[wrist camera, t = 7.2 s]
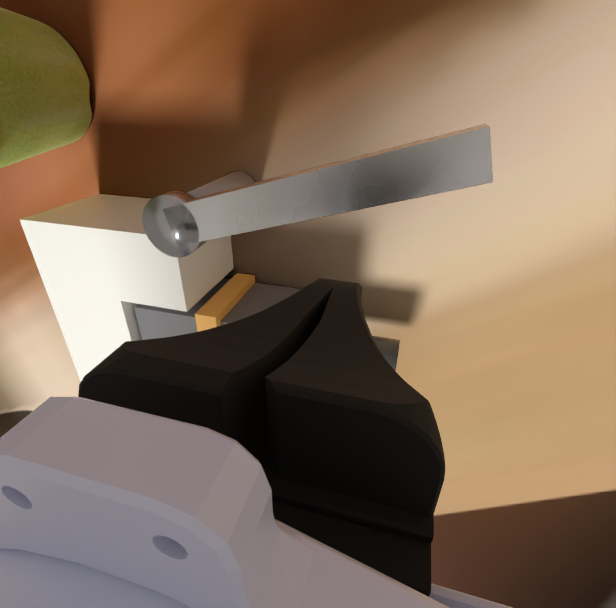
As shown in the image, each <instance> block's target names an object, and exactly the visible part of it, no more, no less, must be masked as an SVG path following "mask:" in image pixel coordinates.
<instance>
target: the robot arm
mask: <svg viewBox="0 0 616 608" xmlns="http://www.w3.org/2000/svg"><path fill="white" fill-rule="evenodd" d="M361 293H362V287H361V286H360V284H358V283H351V282H343V281H336V280H328V279H318V280H317V281H315V282H313V283H311V284H310V285H308V286H307V287H305V288H303V289H302V290H300V291H298V292H297V293H295V294H293V295H291V296H290V297H288V298H286V299H284V300H283V301H281V302H279V303H277V304H275V305H273V306H271V307H269V308H267V309H265V310H263V311H261V312H258V313H256V314H254V315H251V316H249V317H246V318H243V319H241V320H238V321H235V322H232V323H228V324H225V325H221V326H218V327H214V328H211V329H207V330H203V331H199V332H194V333H189V334H183V335H178V336H172V337H165V338H156V339H147V340H137V341H126V342H124V343H123V344H122V345H121V346H120V347H118V348H117V349H116V350H115V351H114V352H112V353H111V354H110V355H109V356H108V357H107V358H105V359H104V360H103V361H102V362H101V363H99V364H98V365H97V366H96V367H95V368H93V369H92V370H91V371H90V372H89V373H87V374H86V375H85V376H84V378H83V379H82V381H81V383H80V385H79V397H50V398H49V399H47V400H46V401H45V402H44V403H43V404H41V405H40V406H39V407H38V408H36V409H35V410H34V411H33V412H32V413H30V414H29V415H28V416H27V417H25V418H24V419H23V420H22V421H21V422H19V423H18V424H17V425H16V426H14V427H13V428H12V429H11V430H10V431H8V432H7V433H6V434H5V435H3V436H2V437H1V438H0V608H512V607H508V606H505V605H502V604H498V603H495V602H492V601H488V600H485V599H481V598H478V597H475V596H471V595H468V594H465V593H462V592H458V591H455V590H451V589H448V588H444V587H441V586H438V585H434V584H431V542H432V540H433V534H434V523H433V522H434V521H433V514H434V511H435V507H436V504H437V501H438V498H439V494H440V491H441V488H442V485H443V481H444V475H445V459H444V452H443V447H442V442H441V438H440V433H439V430H438V426H437V423H436V420H435V417H434V414H433V411H432V408H431V405H430V403H429V401H428V400H427V399H426V398H424V397H423V396H422V395H421V394H420V393H418V392H417V391H416V390H415V389H414V388H412V387H411V386H410V385H409V384H407V383H406V382H405V381H404V380H403V379H402V378H401V377H400V376H399V375H398V374H397V373H396V372H395V370H394V369H393V368H392V366H391V365H390V364H389V363H388V361H387V360H386V359H385V357H384V356H383V354H382V353H381V351H380V350H379V348H378V346H377V345H376V343H375V341H374V339H373V337H372V335H371V333H370V330H369V328H368V325H367V323H366V320H365V317H364V313H363V309H362V305H361Z"/></svg>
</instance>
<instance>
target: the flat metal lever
mask: <svg viewBox="0 0 616 608" xmlns="http://www.w3.org/2000/svg"><path fill="white" fill-rule="evenodd" d="M492 182H493V174H492V157H491V139H490V126H488V125H486V124H483V125H479V126H475V127H471V128H467V129H463V130H459V131H455V132H451V133H448V134H444V135H440V136H436V137H432V138H428V139H424V140H420V141H416V142H412V143H408V144H404V145H400V146H397V147H393V148H389V149H385V150H381V151H377V152H373V153H369V154H365V155H361V156H357V157H353V158H349V159H346V160H342V161H338V162H334V163H330V164H326V165H322V166H318V167H314V168H310V169H306V170H302V171H299V172H295V173H291V174H287V175H283V176H279V177H275V178H271V179H267V180H263V181H259V182H255V183H251V184H248V185H244V186H240V187H236V188H232V189H228V190H224V191H220V192H216V193H212V194H208V195H204V196H201V197H197V198H195V197H194V196H193V195H191V194H189V193H187V192H184V191H179V190H174V191H170V192H167V193H165V194H162V195H160V196H157V197H155V198H153V199H151V200H150V201H148V203H147V204H146V205H145V207H144V210H143V214H142V222H143V227H144V230H145V233H146V235H147V237H148V238H149V240H150V241H151V243H152V244H153V245H154V246H155V247H156V248H157V249H158V250H160V251H161V252H162V253H164V254H166V255H168V256H171V257H178V258H180V257H185V256H188V255H190V254H191V253H193V252H194V251H195V250H197V249H198V248H200V247H201V246H203V245H204V244H205V243H206V242H207V240H211V239H216V238H221V237H226V236H231V235H236V234H241V233H246V232H251V231H255V230H260V229H265V228H270V227H275V226H280V225H285V224H290V223H295V222H300V221H305V220H310V219H315V218H319V217H324V216H329V215H334V214H339V213H344V212H349V211H354V210H359V209H364V208H369V207H374V206H379V205H383V204H388V203H393V202H398V201H403V200H408V199H413V198H418V197H423V196H428V195H433V194H438V193H443V192H447V191H452V190H457V189H462V188H467V187H472V186H477V185H482V184H487V183H492Z"/></svg>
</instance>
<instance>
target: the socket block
mask: <svg viewBox="0 0 616 608" xmlns="http://www.w3.org/2000/svg"><path fill="white" fill-rule="evenodd" d="M251 183H255V182H254V180H253V179H252V178H251V177H250V176H249V175H248V174H246V173H244V172H241V171H236V172H233V173H231V174H228V175H226V176H224V177H221V178H219V179H217V180H214V181H212V182H210V183H207V184H205V185H203V186H200V187H198V188H196V189H194V190H191V191H189V192H187V193H189V194H191V195H193V196H194V197H195V198H197V197H201V196H204V195H208V194H212V193H216V192H220V191H224V190H228V189H232V188H236V187H240V186H244V185H248V184H251ZM150 200H151V199H149V198H138V197H127V196H117V195H106V194H97V195H94V196H91V197H88V198H84V199H81V200H78V201H75V202H72V203H69V204H66V205H63V206H60V207H56V208H53V209H50V210H47V211H44V212H41V213H38V214H35V215H32V216H28V217H25V218H22V219H20V222H21V225H22V227H23V230H24V233H25V235H26V238H27V240H28V243H29V246H30V248H31V251H32V254H33V256H34V259H35V262H36V264H37V267H38V270H39V272H40V275H41V277H42V280H43V283H44V285H45V288H46V291H47V293H48V296H49V299H50V301H51V304H52V307H53V309H54V312H55V314H56V317H57V320H58V322H59V325H60V328H61V330H62V333H63V336H64V338H65V341H66V344H67V346H68V349H69V352H70V354H71V357H72V359H73V362H74V365H75V367H76V370H77V373H78V375H79V378H80V381H82V379H83V378H84V376H85V375H86V374H87V373H89V372H90V371H91V370H92V369H93V368H95V367H96V366H97V365H98V364H99V363H101V362H102V361H103V360H104V359H105V358H107V357H108V356H109V355H110V354H111V353H112V352H114V351H115V350H116V349H117V348H118V347H120V346H121V345H122V344H123V343H124V342H126V341H137V340H142V337H141V333H140V329H139V325H138V321H137V317H136V313H135V309H134V307H135V306H136V305H137V304H143V305H149V306H155V307H161V308H167V309H173V310H179V311H185V312H187V311H188V310H189V309H190V308H192V307H193V306H194V305H195V304H196V303H197V302H198V301H199V300H200V299H201V298H202V297H203V296H204V295H206V294H207V293H208V292H209V291H210V290H211V289H212V288H213V287H214V286H215V285H216V284H217V283H218V282H220V281H221V280H222V279H223V278H224V277H225V276H226V275H227V274H228V273H229V272H230V271H231V270H232V269H234V265H233V255H232V244H231V236H226V237H221V238H216V239H211V240H207V242H206V243H205V244H204V245H203V246H201V247H200V248H198V249H197V250H195V251H194V252H193V253H191V254H190V255H188V256H185V257H180V258H178V257H171V256H168V255H166V254H164V253H162V252H161V251H160V250H158V249H157V248H156V247H155V246H154V245H153V244H152V243H151V241H150V240H149V238H148V237H147V235H146V233H145V230H144V227H143V222H142V214H143V210H144V207H145V205H146V204H147V203H148V201H150Z"/></svg>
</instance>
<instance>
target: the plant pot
mask: <svg viewBox="0 0 616 608" xmlns="http://www.w3.org/2000/svg"><path fill="white" fill-rule="evenodd" d="M89 89H90V82H89V79H88V76H87V73H86V71H85V68H84V66H83V64H82V62H81V60H80V59H79V57H78V55H77V54H76V52H75V51H74V49H73V48H72V47H71V45H70V44H69V43H68V42H67V41H66V40H65V39H64V38H63V37H62V36H61V35H60V34H59V33H58V32H57V31H55V30H54V29H53V28H51V27H50V26H48V25H46V24H44V23H42V22H40V21H38V20H35V19H32V18H30V17H27V16H24V15H21V14H18V13H15V12H12V11H10V10H7V9H4V8H1V7H0V168H2V167H5V166H8V165H11V164H13V163H16V162H19V161H22V160H25V159H28V158H30V157H33V156H36V155H39V154H42V153H44V152H47V151H50V150H53V149H56V148H59V147H62V146H64V145H67V144H70V143H73V142H75V141H77V140H79V139H80V138H81V137H82V136H83V135H84V134H85V133H86V131H87V129H88V127H89V125H90V123H91V119H92V111H91V107H90V96H89Z"/></svg>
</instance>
